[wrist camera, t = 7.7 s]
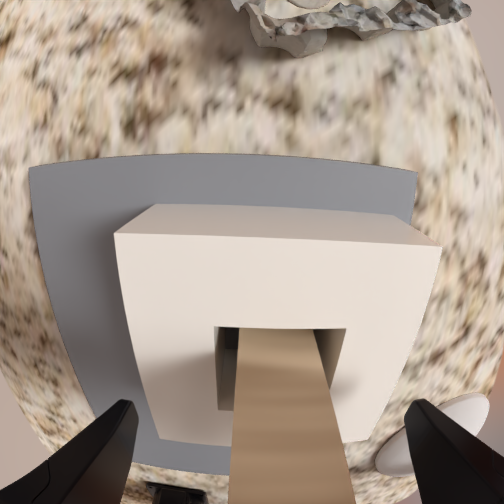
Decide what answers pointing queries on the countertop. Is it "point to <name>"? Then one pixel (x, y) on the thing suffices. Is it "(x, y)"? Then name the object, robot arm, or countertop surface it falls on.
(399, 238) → the holder
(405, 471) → the candlestick
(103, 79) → the countertop surface
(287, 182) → the board
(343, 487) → the peg
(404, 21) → the egg carton
